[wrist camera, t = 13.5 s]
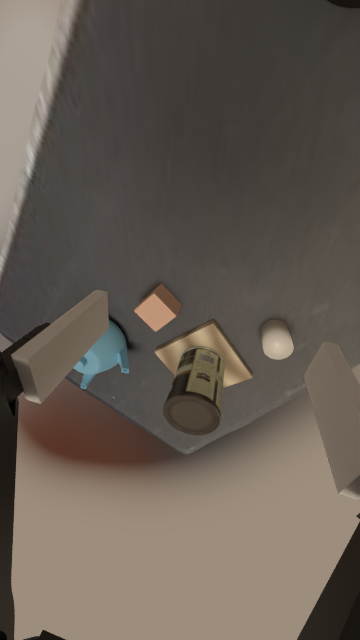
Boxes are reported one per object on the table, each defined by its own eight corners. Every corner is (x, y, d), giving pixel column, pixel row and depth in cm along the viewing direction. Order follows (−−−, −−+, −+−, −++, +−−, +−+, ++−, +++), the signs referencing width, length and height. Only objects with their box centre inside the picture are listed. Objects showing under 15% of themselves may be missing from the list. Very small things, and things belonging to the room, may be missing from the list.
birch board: (213, 319, 49) (213, 323, 48) (252, 373, 54) (252, 377, 52) (156, 348, 56) (154, 352, 55) (194, 393, 61) (193, 397, 60)
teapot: (105, 297, 52) (77, 322, 43) (144, 349, 57) (126, 381, 48) (62, 322, 59) (30, 348, 50) (101, 366, 64) (77, 397, 55)
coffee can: (184, 381, 57) (169, 433, 46) (176, 346, 53) (157, 394, 41) (227, 382, 54) (223, 438, 43) (223, 345, 50) (217, 397, 38)
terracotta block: (161, 283, 48) (153, 293, 43) (181, 304, 49) (176, 316, 45) (142, 299, 50) (133, 310, 46) (162, 319, 52) (155, 331, 48)
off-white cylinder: (280, 315, 45) (285, 332, 40) (292, 334, 47) (298, 353, 42) (256, 326, 48) (258, 343, 43) (268, 344, 49) (271, 363, 44)
